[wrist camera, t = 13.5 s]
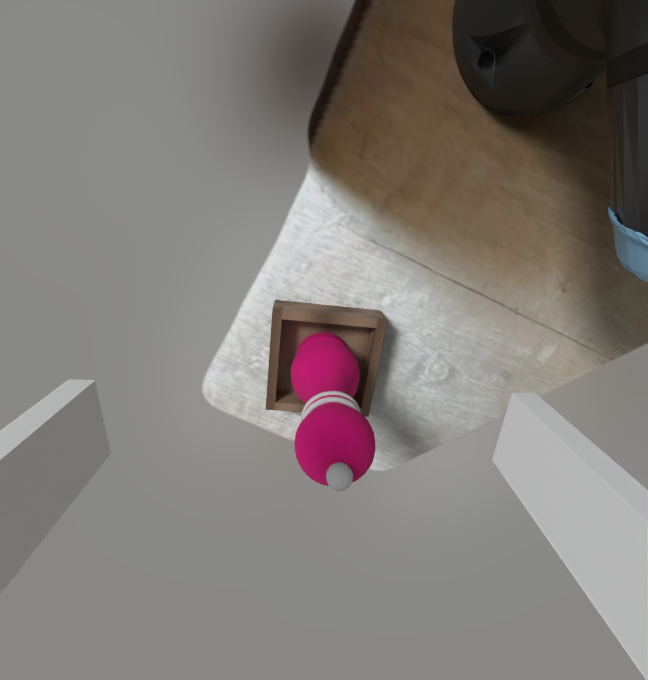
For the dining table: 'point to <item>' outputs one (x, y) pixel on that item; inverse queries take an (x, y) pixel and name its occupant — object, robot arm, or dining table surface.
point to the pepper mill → (330, 413)
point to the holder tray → (306, 319)
